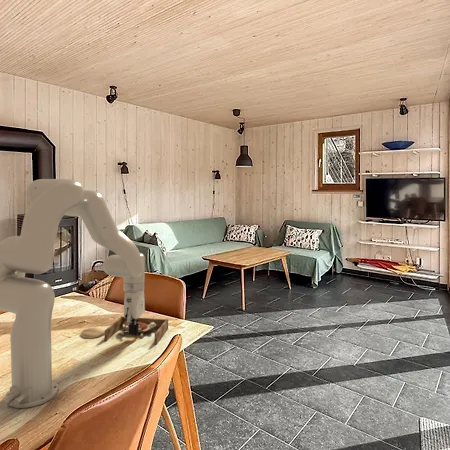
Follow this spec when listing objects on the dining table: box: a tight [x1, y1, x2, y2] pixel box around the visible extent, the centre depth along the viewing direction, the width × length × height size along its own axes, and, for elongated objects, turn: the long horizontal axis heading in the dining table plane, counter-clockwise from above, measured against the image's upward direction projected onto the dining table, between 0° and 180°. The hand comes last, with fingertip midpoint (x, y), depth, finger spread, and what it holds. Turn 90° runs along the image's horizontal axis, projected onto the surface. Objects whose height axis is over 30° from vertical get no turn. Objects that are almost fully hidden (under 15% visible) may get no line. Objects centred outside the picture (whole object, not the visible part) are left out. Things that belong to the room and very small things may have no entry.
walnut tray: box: [104, 316, 169, 346], centre depth 140 cm, size 16×20×4 cm
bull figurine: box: [120, 321, 156, 338], centre depth 142 cm, size 4×13×8 cm
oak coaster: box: [80, 326, 106, 339], centre depth 140 cm, size 9×9×1 cm
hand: (133, 334), depth 136 cm, fingers closed
